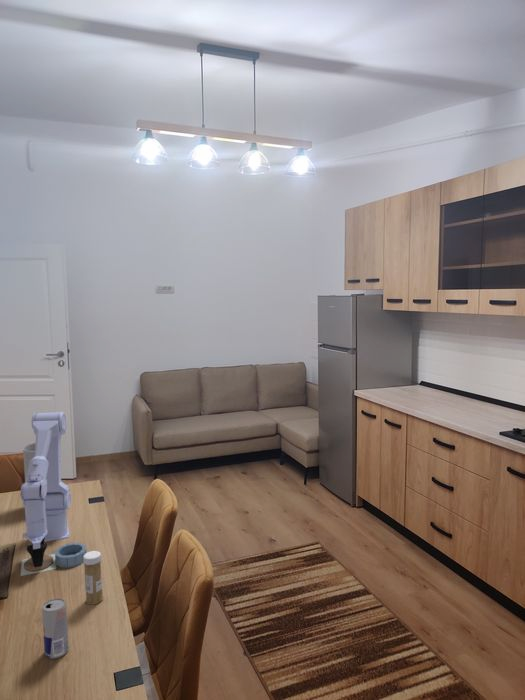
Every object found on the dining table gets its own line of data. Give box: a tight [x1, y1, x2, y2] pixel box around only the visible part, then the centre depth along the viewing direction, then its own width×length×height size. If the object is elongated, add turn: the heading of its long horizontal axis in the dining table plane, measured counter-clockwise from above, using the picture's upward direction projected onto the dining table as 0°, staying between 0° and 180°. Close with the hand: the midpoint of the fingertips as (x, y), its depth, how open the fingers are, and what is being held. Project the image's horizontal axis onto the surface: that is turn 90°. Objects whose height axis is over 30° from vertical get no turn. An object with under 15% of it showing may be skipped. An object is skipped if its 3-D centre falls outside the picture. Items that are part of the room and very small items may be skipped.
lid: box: [24, 554, 53, 572], centre depth 163 cm, size 8×8×4 cm
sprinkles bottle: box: [83, 550, 104, 605], centre depth 144 cm, size 5×5×14 cm
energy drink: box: [41, 598, 70, 660], centre depth 124 cm, size 5×5×12 cm
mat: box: [20, 553, 57, 577], centre depth 164 cm, size 10×10×1 cm
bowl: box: [54, 542, 88, 569], centre depth 166 cm, size 9×9×4 cm
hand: (38, 560), depth 163 cm, fingers open, 7 cm apart
